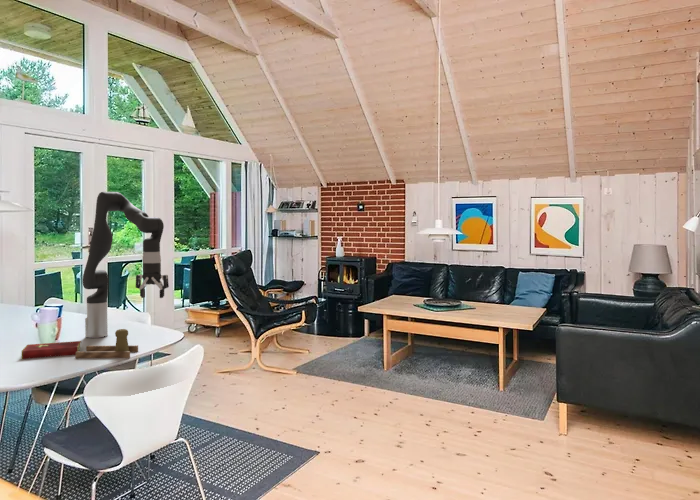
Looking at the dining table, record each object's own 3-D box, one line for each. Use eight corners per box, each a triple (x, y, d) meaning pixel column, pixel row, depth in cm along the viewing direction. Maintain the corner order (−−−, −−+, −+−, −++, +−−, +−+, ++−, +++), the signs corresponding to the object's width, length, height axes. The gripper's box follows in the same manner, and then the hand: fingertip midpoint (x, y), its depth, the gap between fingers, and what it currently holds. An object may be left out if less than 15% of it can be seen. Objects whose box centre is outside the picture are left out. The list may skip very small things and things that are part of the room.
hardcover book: (78, 355, 219) (78, 346, 219) (21, 360, 211) (21, 350, 211) (81, 349, 230) (81, 340, 230) (27, 353, 222) (27, 343, 222)
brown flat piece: (75, 358, 214) (75, 352, 214) (87, 351, 225) (87, 345, 225) (129, 357, 215) (129, 351, 215) (138, 350, 227) (138, 345, 227)
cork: (117, 352, 224) (117, 328, 223) (131, 352, 224) (131, 327, 223) (112, 356, 218) (111, 330, 217) (126, 356, 218) (126, 330, 217)
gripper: (132, 262, 223) (132, 298, 224) (163, 262, 222) (164, 299, 223) (140, 261, 231) (141, 296, 231) (170, 261, 230) (171, 296, 230)
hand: (152, 297), depth 227 cm, fingers open, 8 cm apart
